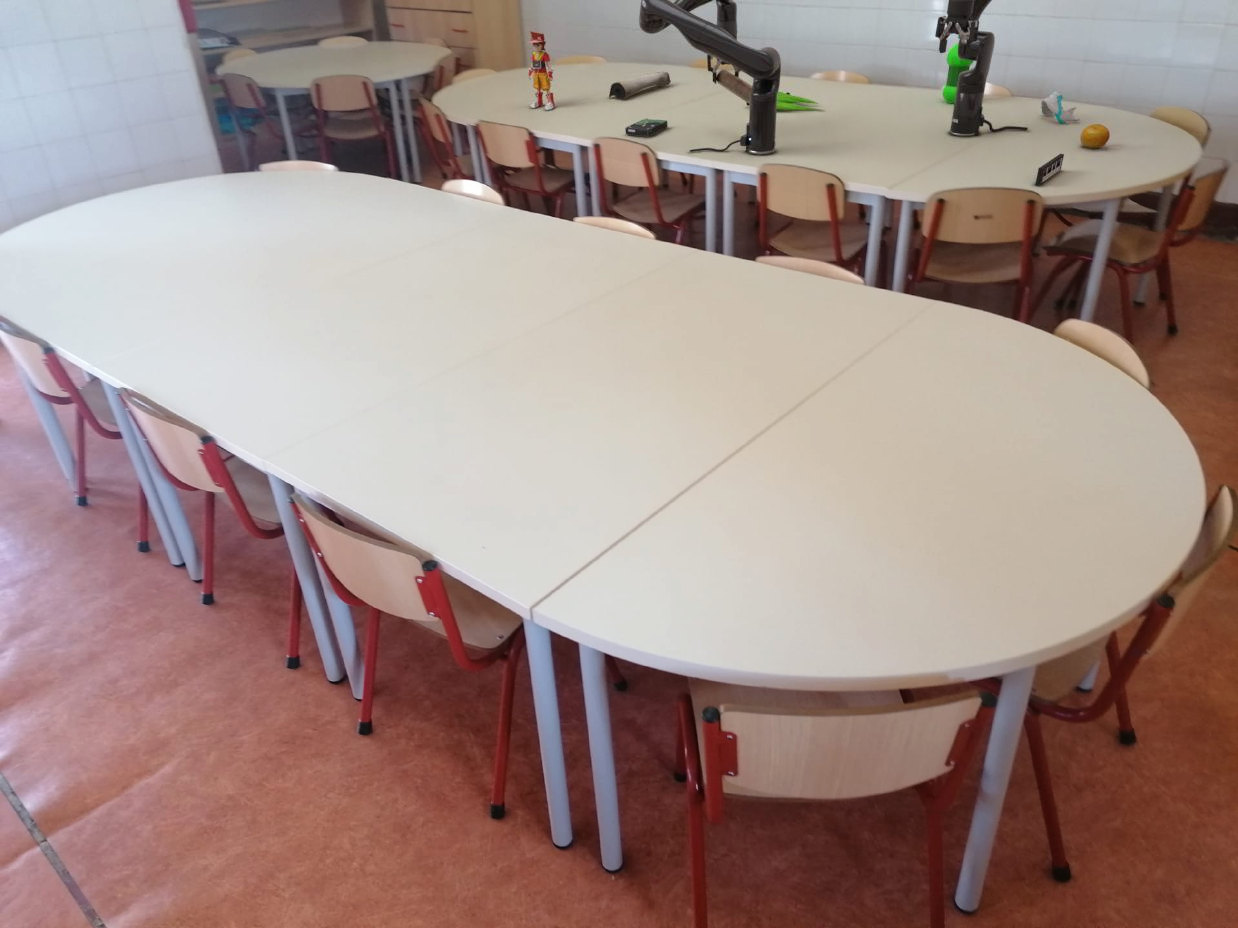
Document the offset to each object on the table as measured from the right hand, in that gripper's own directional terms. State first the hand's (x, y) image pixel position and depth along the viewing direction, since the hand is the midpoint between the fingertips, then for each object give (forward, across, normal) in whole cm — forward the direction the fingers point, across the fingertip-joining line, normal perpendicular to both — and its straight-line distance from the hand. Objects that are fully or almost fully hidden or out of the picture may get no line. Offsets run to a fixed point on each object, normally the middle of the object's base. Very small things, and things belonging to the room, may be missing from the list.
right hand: (953, 54), depth 285 cm
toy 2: (+30, -81, +5) cm, 87 cm away
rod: (+16, -62, -35) cm, 74 cm away
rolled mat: (+30, -148, -20) cm, 152 cm away
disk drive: (+30, -92, -56) cm, 112 cm away
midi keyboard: (+30, +40, +2) cm, 51 cm away
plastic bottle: (+30, -40, +57) cm, 76 cm away
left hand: (+14, -74, -33) cm, 82 cm away
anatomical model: (+30, +2, +61) cm, 68 cm away
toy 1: (+30, -156, -66) cm, 172 cm away
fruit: (+30, +30, +39) cm, 58 cm away
